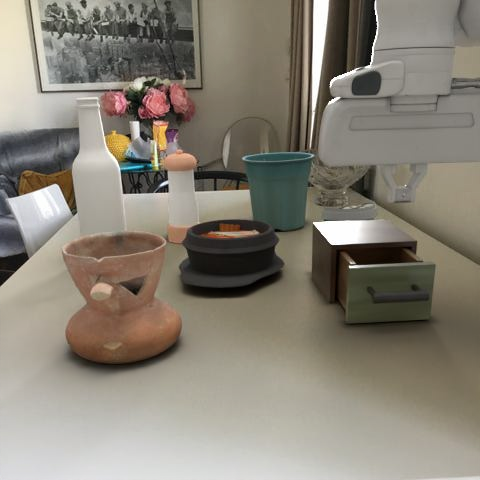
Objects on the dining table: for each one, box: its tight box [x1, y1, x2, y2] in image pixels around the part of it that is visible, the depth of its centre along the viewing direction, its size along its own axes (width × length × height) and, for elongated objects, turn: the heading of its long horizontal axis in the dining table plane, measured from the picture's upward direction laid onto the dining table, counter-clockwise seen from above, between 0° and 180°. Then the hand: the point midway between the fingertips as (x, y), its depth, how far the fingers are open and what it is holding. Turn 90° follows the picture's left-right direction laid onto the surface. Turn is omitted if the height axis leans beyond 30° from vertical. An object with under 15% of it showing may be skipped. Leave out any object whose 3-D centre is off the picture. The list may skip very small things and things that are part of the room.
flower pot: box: [241, 151, 315, 232], centre depth 132 cm, size 16×16×16 cm
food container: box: [320, 198, 379, 222], centre depth 107 cm, size 12×6×10 cm, turn 126°
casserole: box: [178, 218, 285, 289], centre depth 99 cm, size 25×19×8 cm
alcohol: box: [71, 96, 128, 237], centre depth 106 cm, size 9×9×30 cm
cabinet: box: [311, 219, 418, 304], centre depth 90 cm, size 15×13×10 cm
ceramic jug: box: [61, 230, 183, 365], centre depth 71 cm, size 18×14×14 cm
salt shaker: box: [162, 149, 201, 244], centre depth 122 cm, size 7×7×19 cm
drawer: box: [335, 247, 437, 324], centre depth 79 cm, size 18×11×8 cm, turn 4°
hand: (400, 202), depth 69 cm, fingers closed
